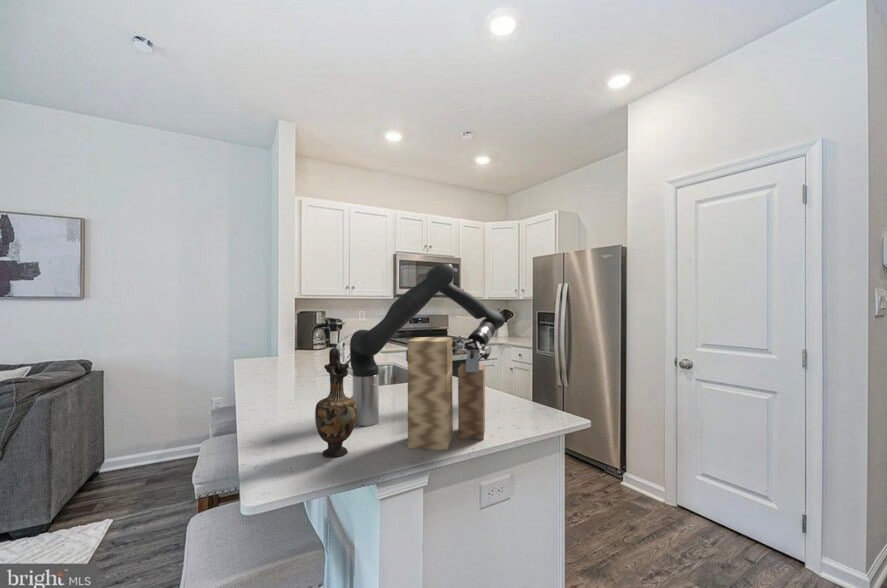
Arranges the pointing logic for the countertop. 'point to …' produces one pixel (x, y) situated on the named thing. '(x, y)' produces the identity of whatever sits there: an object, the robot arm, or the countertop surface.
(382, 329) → the robot arm
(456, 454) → the countertop surface
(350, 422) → the vase
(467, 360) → the tin
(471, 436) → the walnut block
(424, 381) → the oak block
